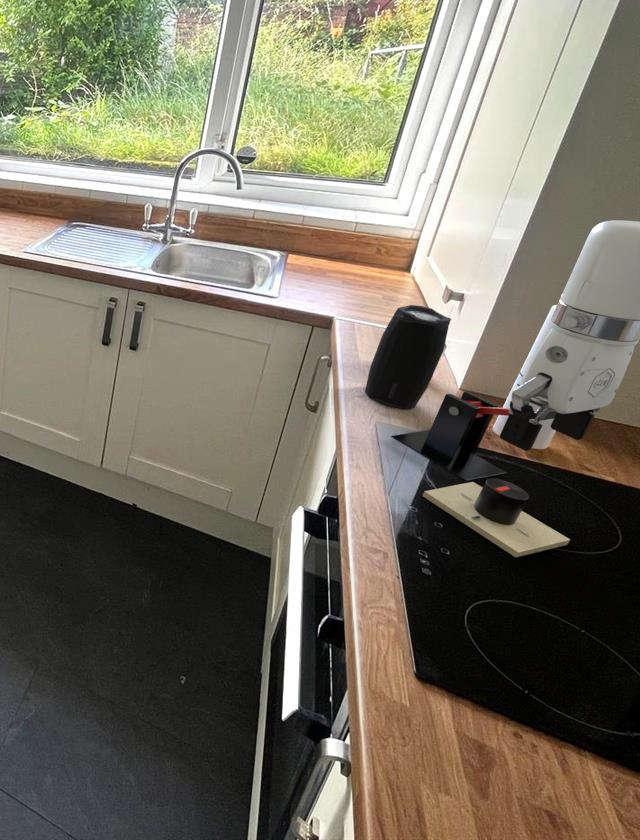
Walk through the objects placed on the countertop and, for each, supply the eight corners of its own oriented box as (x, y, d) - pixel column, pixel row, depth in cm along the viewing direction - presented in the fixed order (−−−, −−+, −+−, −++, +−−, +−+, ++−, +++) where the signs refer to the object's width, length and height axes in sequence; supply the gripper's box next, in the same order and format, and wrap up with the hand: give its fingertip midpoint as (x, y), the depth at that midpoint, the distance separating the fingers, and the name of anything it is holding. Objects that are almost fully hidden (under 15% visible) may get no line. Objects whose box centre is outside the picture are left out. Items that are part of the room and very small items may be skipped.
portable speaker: (375, 387, 119) (409, 300, 112) (427, 411, 111) (467, 319, 104) (349, 395, 116) (383, 305, 109) (400, 420, 108) (441, 325, 101)
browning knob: (487, 500, 85) (500, 474, 83) (522, 522, 81) (538, 494, 79) (465, 505, 84) (479, 479, 82) (501, 527, 80) (516, 500, 78)
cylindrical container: (537, 438, 104) (605, 311, 95) (551, 459, 99) (624, 326, 89) (485, 425, 108) (545, 301, 98) (495, 444, 102) (560, 315, 92)
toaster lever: (565, 421, 84) (562, 404, 84) (541, 425, 83) (538, 408, 83) (469, 414, 96) (467, 399, 96) (447, 417, 94) (445, 402, 94)
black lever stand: (504, 479, 93) (536, 417, 89) (463, 487, 91) (494, 424, 87) (426, 435, 104) (452, 378, 99) (388, 441, 102) (412, 383, 97)
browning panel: (563, 550, 79) (571, 538, 78) (511, 563, 77) (518, 551, 76) (467, 491, 90) (473, 480, 89) (419, 501, 88) (424, 490, 87)
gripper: (588, 342, 66) (528, 466, 72) (685, 327, 70) (620, 446, 76) (510, 316, 73) (462, 432, 79) (603, 305, 77) (550, 415, 83)
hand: (540, 439), depth 78 cm, fingers open, 9 cm apart
